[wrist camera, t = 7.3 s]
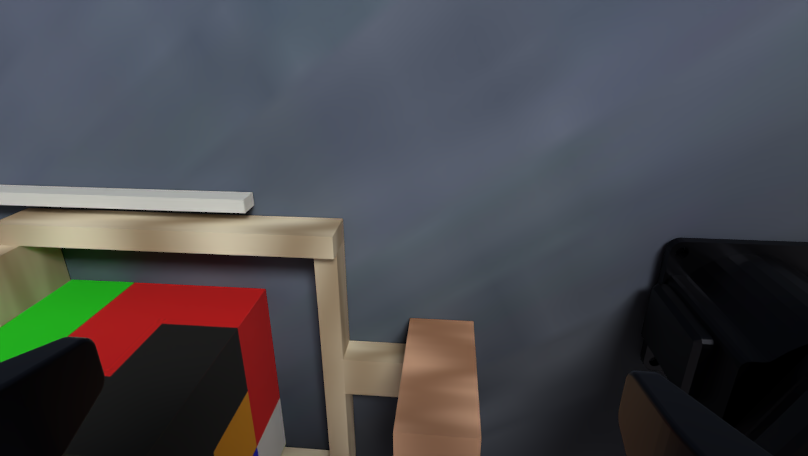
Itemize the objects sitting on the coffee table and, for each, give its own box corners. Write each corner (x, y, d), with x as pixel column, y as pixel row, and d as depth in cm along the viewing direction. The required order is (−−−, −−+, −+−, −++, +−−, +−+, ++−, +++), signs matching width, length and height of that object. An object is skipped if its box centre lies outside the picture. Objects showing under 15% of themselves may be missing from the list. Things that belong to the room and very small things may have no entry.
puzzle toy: (286, 442, 27) (200, 657, 18) (119, 429, 28) (-45, 628, 19) (266, 288, 23) (142, 460, 14) (72, 278, 24) (-164, 435, 15)
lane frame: (252, 192, 21) (243, 199, 20) (299, 552, 30) (295, 569, 30) (-137, 180, 23) (-161, 187, 22) (22, 525, 32) (10, 540, 31)
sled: (479, 223, 21) (491, 312, 14) (463, 474, 26) (466, 617, 20) (28, 207, 22) (-142, 280, 16) (106, 445, 28) (4, 568, 22)
